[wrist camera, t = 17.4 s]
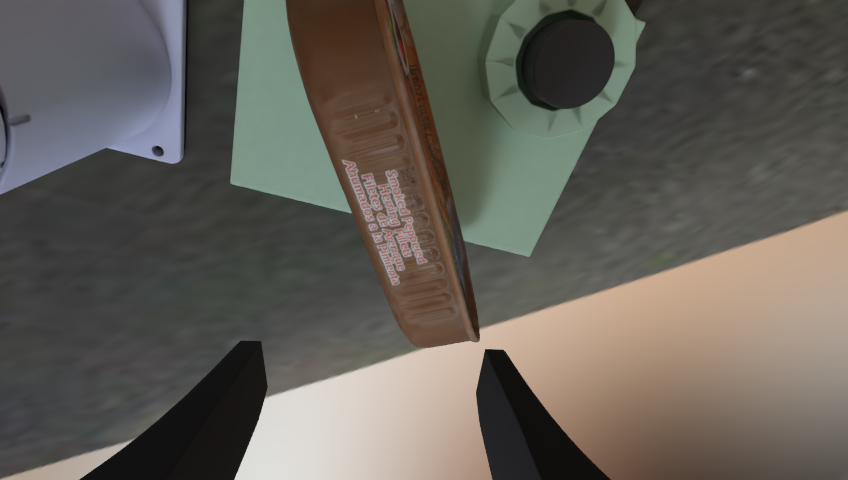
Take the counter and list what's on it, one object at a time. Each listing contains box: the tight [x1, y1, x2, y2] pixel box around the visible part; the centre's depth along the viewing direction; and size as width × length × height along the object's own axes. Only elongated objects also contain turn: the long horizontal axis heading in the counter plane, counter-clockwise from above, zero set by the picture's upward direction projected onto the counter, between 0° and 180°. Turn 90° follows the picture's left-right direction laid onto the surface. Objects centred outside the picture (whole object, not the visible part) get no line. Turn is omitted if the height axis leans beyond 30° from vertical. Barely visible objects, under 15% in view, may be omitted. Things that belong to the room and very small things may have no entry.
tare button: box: [521, 20, 615, 109], centre depth 15 cm, size 3×3×2 cm
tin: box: [285, 0, 480, 348], centre depth 15 cm, size 15×3×8 cm, turn 15°
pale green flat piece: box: [230, 0, 645, 257], centre depth 18 cm, size 16×12×3 cm
